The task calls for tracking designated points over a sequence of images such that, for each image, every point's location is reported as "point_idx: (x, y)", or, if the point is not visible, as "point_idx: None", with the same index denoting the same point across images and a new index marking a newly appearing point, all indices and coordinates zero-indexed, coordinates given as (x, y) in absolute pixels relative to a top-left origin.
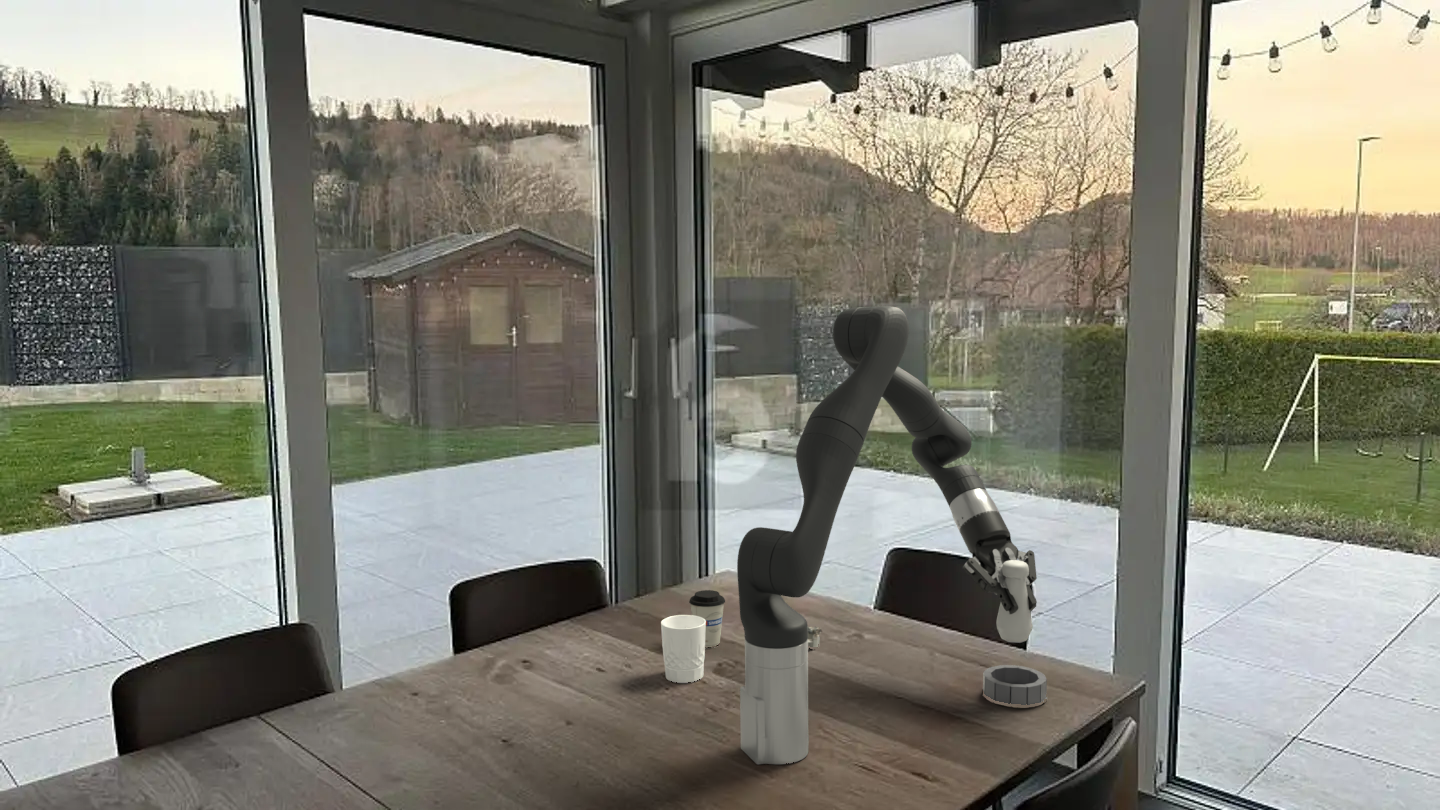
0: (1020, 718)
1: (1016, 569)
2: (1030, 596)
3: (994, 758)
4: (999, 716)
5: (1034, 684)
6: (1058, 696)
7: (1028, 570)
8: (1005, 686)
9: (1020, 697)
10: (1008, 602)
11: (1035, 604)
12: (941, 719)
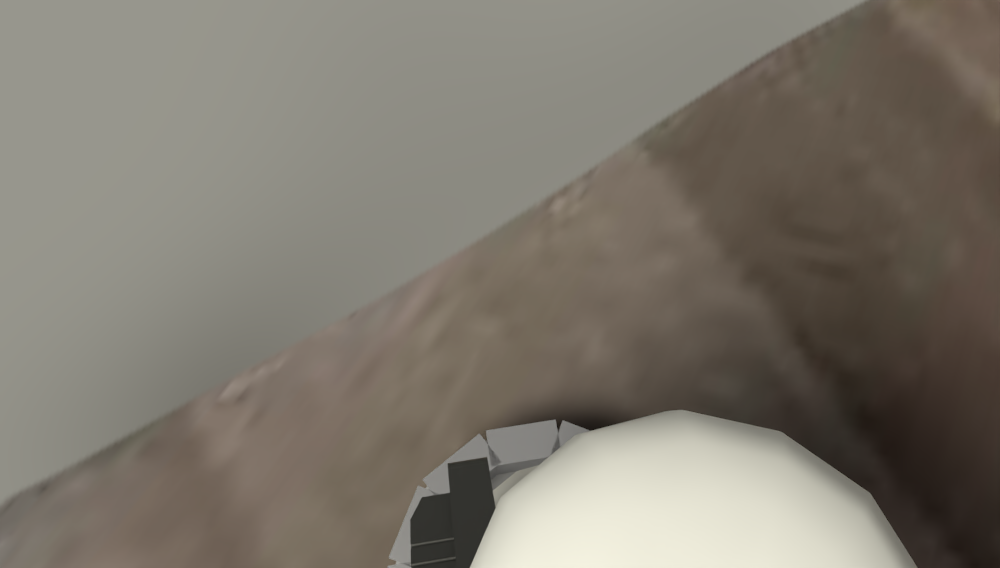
0: (625, 352)
1: (774, 430)
2: (477, 516)
3: (846, 99)
4: (698, 390)
5: (508, 443)
6: (350, 521)
7: (519, 481)
8: None
9: None
10: None
11: (456, 462)
12: (941, 424)
